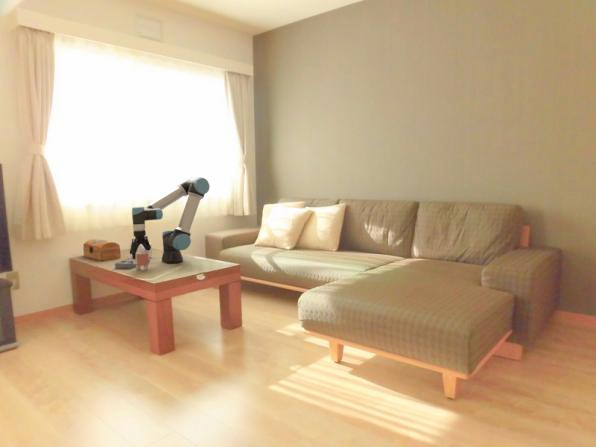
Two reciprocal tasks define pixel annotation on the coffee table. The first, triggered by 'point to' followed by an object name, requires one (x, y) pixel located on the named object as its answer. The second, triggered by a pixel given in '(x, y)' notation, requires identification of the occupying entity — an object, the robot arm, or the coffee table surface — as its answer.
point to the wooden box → (101, 249)
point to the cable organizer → (142, 250)
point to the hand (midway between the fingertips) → (141, 261)
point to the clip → (142, 261)
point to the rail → (126, 264)
